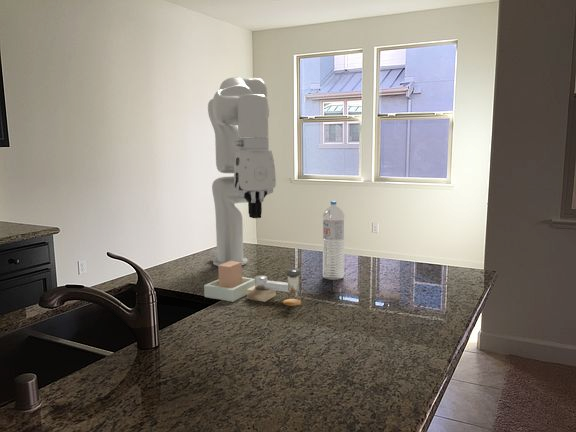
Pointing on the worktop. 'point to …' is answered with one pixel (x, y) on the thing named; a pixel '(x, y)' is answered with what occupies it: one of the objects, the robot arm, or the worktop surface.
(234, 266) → the block
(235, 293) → the tray
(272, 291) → the crank base
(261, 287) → the crank
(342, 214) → the water bottle
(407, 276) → the worktop surface
